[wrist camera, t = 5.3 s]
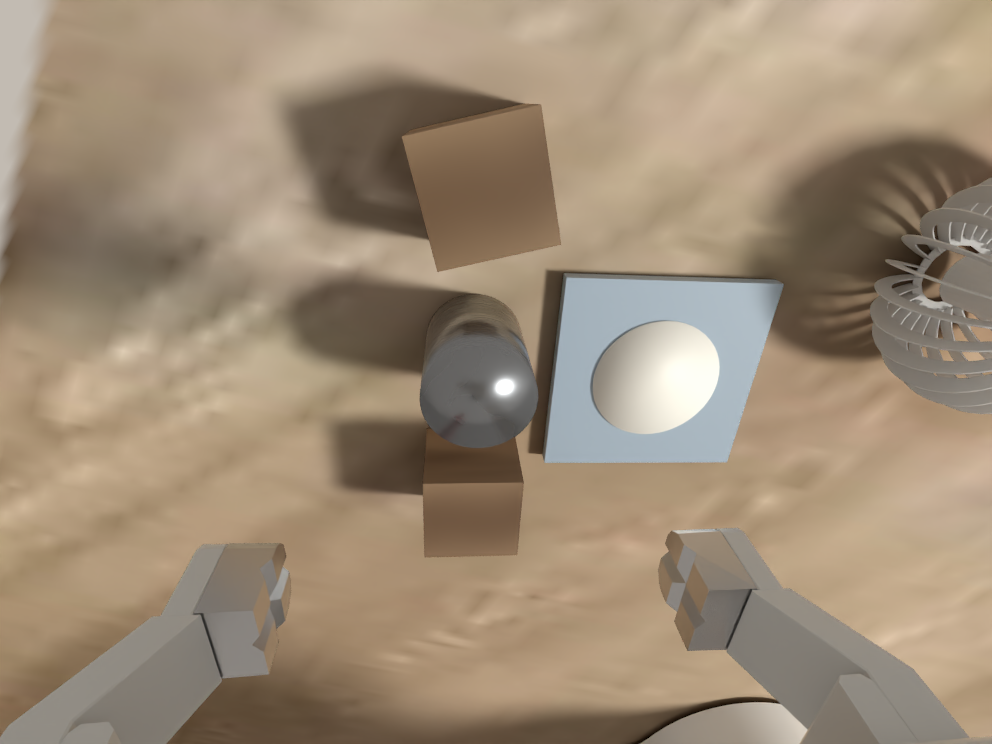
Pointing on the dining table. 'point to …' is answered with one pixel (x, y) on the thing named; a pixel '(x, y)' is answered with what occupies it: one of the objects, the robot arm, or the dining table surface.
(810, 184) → the dining table surface
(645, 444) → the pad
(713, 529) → the robot arm
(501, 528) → the walnut cube
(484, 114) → the walnut cube
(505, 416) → the metal cylinder
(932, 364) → the pendant light
